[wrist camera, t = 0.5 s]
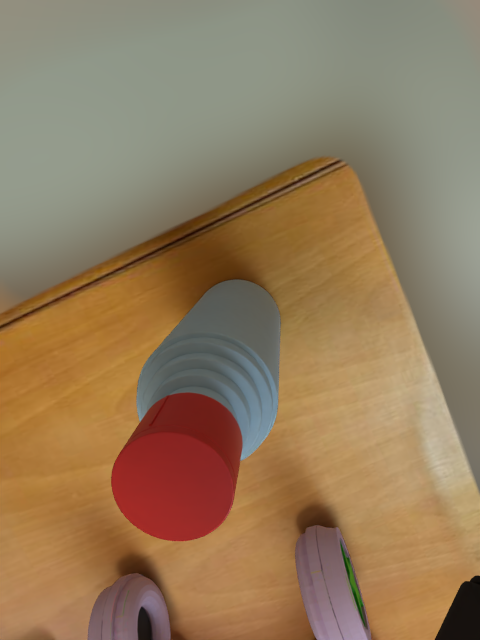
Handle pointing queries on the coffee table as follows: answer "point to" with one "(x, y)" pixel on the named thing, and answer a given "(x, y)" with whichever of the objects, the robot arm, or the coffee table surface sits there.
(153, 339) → the coffee table surface
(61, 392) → the coffee table surface
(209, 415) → the cap
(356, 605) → the headphones
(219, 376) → the bottle
